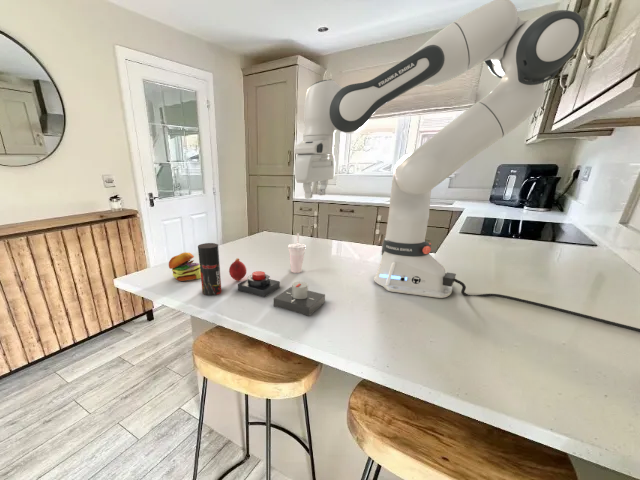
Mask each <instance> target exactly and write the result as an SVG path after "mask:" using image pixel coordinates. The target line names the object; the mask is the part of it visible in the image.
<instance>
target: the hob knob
mask: <svg viewBox="0 0 640 480" xmlns="http://www.w3.org/2000/svg"><path fill="white" fill-rule="evenodd" d="M291 287H292V297H293V298H295V299H306V298H307V297H308V291H309V284H308V282H305V281H295V282H292V284H291Z"/></svg>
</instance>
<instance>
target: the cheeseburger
mask: <svg viewBox="0 0 640 480" xmlns="http://www.w3.org/2000/svg"><path fill="white" fill-rule="evenodd" d="M194 258H195V256H194V254H193V253H192V252H186V251H185V252H181V253H180V254H178V255H174V256H172V257H171V258H170V260H169V262H168V268H169V269H171V272H172V276H173V278H174V279H175V280H177V281H178V282H179V281H180V282H184V281H185V282H186V281H191V280H199V279H201V273H200V263H198V262H194V261H195V259H194ZM192 259H193V260H192Z"/></svg>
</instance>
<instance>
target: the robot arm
mask: <svg viewBox="0 0 640 480" xmlns="http://www.w3.org/2000/svg"><path fill="white" fill-rule="evenodd" d="M518 14H519V13H518V10H517V7H516V5H515V4H514V3H513V1H511V0H492V1H490V2H487V3H485V4H483V5H481V6H479V7H477V8H475V9H473V10H471V11H469V12H467V13H466V14H464V15H461V16H460V17H459V18H457V19H456V20H454V21H453V22H451V23H450V24H448V25H446V26H445V27H444V28H442V29H441V30H440V31H438V32H437V33H435V34H433V36H432V37H430V38H428V40H427V41H426V42H424V43H423V44H422V45H421V46H419V48H418V49H416V50H415V51H414V52H413V53H412V54H410V55H409V56H408V57H406V58H405V59H403V60H402V61H400V62H398V63H397V64H395V65H393V66H392V67H391V68H389V69H387V70H385V71H384V72H382V73H381V74H379V75H377V76H376V77H374V78H372V79H370V80H367V81H364V82H363V81H362V82H358V83H352V84H348V85H346V86H342V85H341V84H338V83H337V82H336V81H335V80H334V79H323V80H319V81H316V82H314V83H313V84H311V85H310V86H309V87H308V88H307V90H306V93H305V99H304V106H303V123H304V130H303V134H302V140H301V141H300V142H299V143H298V144H296V145H295V146H294V154H295V155H296V156H295V160H294V179H295V181H296V183H298V184H302V188H303V192H304V199H312V198H313V191H312V186H313V183H315V182H316V183H317V182H319V189H318V196H325V195H326V192H327V191H326V190H327V187H328V185H329V180H334V177H335V173H336V157H335V155H334V148H335V147H334V145H335V133H336V132H341V133H345V134H351V135H352V134H357V133H358V132H360V131H361V130H363V129H364V128H365V127H366V126H367V125H368V123H369V121H370V119H371V117H372V116H373V115H374V114H375V113H376V112H377V111H378V110H379V109H380V108H382V107H383V106H385V105H387V104H388V103H390V102H391V101H394V100H395V99H396V98H399V97H400V96H402V95H404V94H405V93H407V92H409V91H412V90H413V89H415V88H418V87H422V86H427V87H428V86H429V87H436V86H440V85H442V84H444V83H447V82H449V81H451V80H453V79H456V78H457V77H459V76H461V75H463V74H465V73H466V72H468V71H470V70H471V69H474V67H476V66H478V65H480V64H482V63H485V65H486V66H487V68H488V69H489V71H490V72H491V74H492V75H493V76H495V77H497V78H499V79H500V80H499V82H498V83H497V85H496V86H495V87H494V88H493V89H492V90H491V91H490V93H488V94H487V95H485V96H484V97H482V98H481V99H479V100H478V101H477V102H475V103H474V104H473V105H472V106H471V107H469V108H467V109H466V110H465V111H463V112H462V113H461V114H460V115H458V116H457V117H456V118H455V119H453V120H452V121H450V122H449V123H448V124H447V125H445V126H444V127H443V128H441V129H440V130H439V131H437V133H435V134H434V135H433V136H432V137H430V138H429V139H428V140H427V141H426V142H424V143H423V144H422V145H420V146H418V148H416V149H415V150H414V151H413V152H410V153H407V154H405V155H403V156H402V157H400V159H399V160H398V161H397V162H396V164H395V165H394V168H393V172H392V180H391V188H390V196H389V197H390V198H389V208H388V216H387V223H386V231H385V237H384V238H383V241H382V245H381V258H380V263H379V265H378V269H377V272H376V274H375V275H374V278H373V281H374V282H375V283H376V284H378V285H379V286H381V287H383V288H384V289H385V290H386V291H388V292H393V293H401V294H407V295H414V296H422V297H430V298H436V299H444V298H448V297H449V296H450V295H451V294H452V292H453V284H454V283H457V284H458V285H460V286H461V287H462V288H461V291H460V292H461V295H463V297H481V298H483V297H485V298H486V297H494V298H502V299H507V300H512V301H517V302H519V303H524V304H528V305H532V306H537V307H540V308H545V309H548V310H553V311H555V312H561V313H564V314H568V315H572V316H575V317H579V318H583V319H587V320H591V321H594V322H599V323H602V324H606V325H610V326H613V327H617V328H622V329H625V330H630V331H633V332H637V333H640V328H639V327H634V326H631V325H627V324H623V323H619V322H615V321H611V320H608V319H603V318H599V317H596V316H593V315H588V314H584V313H580V312H576V311H572V310H568V309H564V308H560V307H557V306H552V305H548V304H546V303H545V304H544V303H541V302H537V301H531V300H528V299H523V298H519V297H515V296H510V295H505V294H501V293H481V294H468V293H466V289H467V286H466V284H465V283H464V282H463V281H461V280H459V279H457V278H456V276H457V274H456V273H454V272H448V271H447V272H446V269H445V266H444V265H442V264H441V263H440V262H439V261H438V260H437V259H436V258H435V257H434V256H432V255H431V254H430V253H431V250H432V243H431V242H427V241H426V240H425V239H426V234H427V229H428V225H429V218H430V207H431V194H432V190H433V189H435V188H436V187H437V186H438V185H440V184H441V183H443V182H444V181H446V179H448V178H449V177H450V176H452V175H453V174H454V173H456V172H457V171H458V170H459V169H460V168H461V167H463V166H464V165H465V164H466V163H467V162H469V161H470V160H472V159H473V158H474V157H476V156H477V155H479V154H480V153H482V152H483V151H485V150H486V149H488V148H489V147H491V146H493V145H494V144H495V143H497V142H498V141H500V140H501V139H502V138H503V137H505V136H507V135H508V134H509V133H511V132H513V130H515V129H516V128H518V127H519V126H520V125H522V123H524V122H525V121H526V120H528V119H529V117H531V116H532V115H533V114H534V113H535V112H536V111H537V110H538V109H539V108H540V107H541V106H542V105H543V102H544V100H545V98H546V97H545V96H546V91H545V87H544V85H543V84H545V83H546V82H548V81H551V80H552V79H553V78H554V77H555V76H556V75H557V74H558V72H559V71H560V70H561V68H562V67H563V65H565V63H566V62H567V61H568V60H569V59H570V58H571V57H572V56H573V54H574V53H575V52H576V50H577V49H578V47H579V46H580V44H581V42H582V40H583V37H584V34H585V21H584V19H583V18H582V16H581V15H580V14H578V13H577V12H575V11H572V10H568V9H567V10H566V9H560V10H559V9H558V10H553V11H550V12H547V13H545V14H542V15H539V16H536V17H533V18H530V19H528V20H522V19H521V18H520V17H519V15H518Z"/></svg>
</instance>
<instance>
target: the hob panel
mask: <svg viewBox="0 0 640 480" xmlns="http://www.w3.org/2000/svg"><path fill="white" fill-rule="evenodd" d="M325 303H326V294H325V293H321V292H316V291H312V290H308V297H307V298H306V299H295V298H293V297H292V286H290V287H288V288H287V289H285V290H284V291H282V292H281V293H279V294H278V295H276V296H274V298H273V307H275V308H279V309H283V310H285V311H289V312H292V313H296V314H299V315H303V316H307V317H310V316H311V315H313V313H315V312H316V311H317V310H318V309H320V308H321V306H323V305H324V304H325Z"/></svg>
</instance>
